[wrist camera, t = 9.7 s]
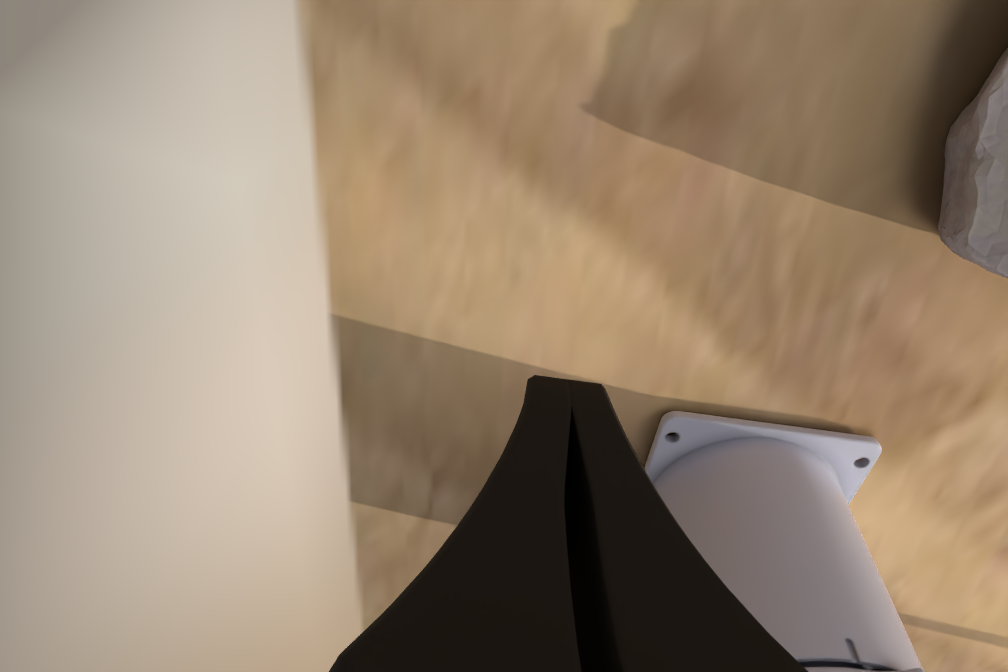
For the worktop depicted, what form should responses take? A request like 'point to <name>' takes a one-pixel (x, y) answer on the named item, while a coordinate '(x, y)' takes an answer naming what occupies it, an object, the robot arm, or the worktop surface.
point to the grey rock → (979, 177)
